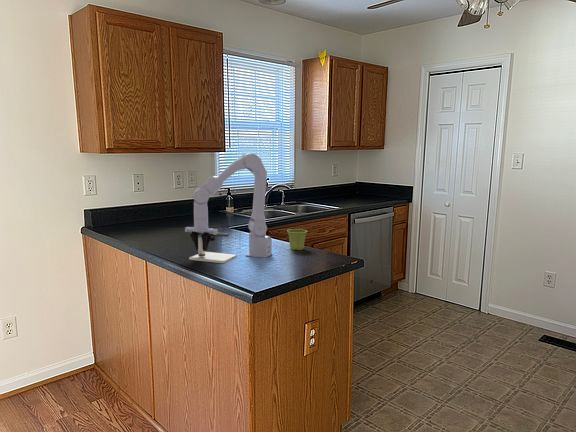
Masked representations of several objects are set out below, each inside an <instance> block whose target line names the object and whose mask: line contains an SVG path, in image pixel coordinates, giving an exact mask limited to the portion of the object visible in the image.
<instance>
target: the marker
mask: <svg viewBox="0 0 576 432" xmlns="http://www.w3.org/2000/svg"><path fill="white" fill-rule="evenodd" d="M205 252H206V251H203V241H202V237H201V235H198V250H197V253H198V256H200V257H203V256H205Z"/></svg>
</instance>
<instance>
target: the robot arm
mask: <svg viewBox="0 0 576 432" xmlns="http://www.w3.org/2000/svg"><path fill="white" fill-rule="evenodd" d="M242 170H243V171H244V170H248V171H249V172H251V174H252V175H253V176H254V183H253V185H254V186H253V196H252V197H253V199H252V210H251V211H252V212H251V215H250V219H249V221H248V224H247V229H248V230H249V231H250V232H249V234H248V242H249V243H248V253H247V254H245V256H246V257H253V258H254V257H255V258H263V259H266V258H268V257H270V256H271V255H273V253H272V247H273V245H272V244H273V242H272V237H271V235H270V236H269V235H267V234H266V233H267V231H268V226H267V224H266V216H265V206H266V193H267V192H266V191H267V179H268V178H267V177H268V172H267V171H268V170H267V169H266V167H265V166H264V163H263V161H262V159H261V157H260V156H258V155H257V154H255V153H248V152H247V153H243V154H242V155H241V156H240V157H238V158H236V159H235V160H234V161H233V162H231V163H230V164H229V165H228V166H227V167H226V168H225V169H223V170H222V172H221V173H220V174H219V175H218V176H217V175H213V176H209V177H208V178H207V181H206V182H204V183H203V184H202V185H199V186H198V187H199V188H197V189H195V190H194V191H193V194H192V196H191V197H192V200H193V226H186V227H184V232H185V233H190V235H189V236H190V238H191V239H192V242H193V243H194V247H195V250H196V251H198V235H201V234H202V233H204V234H202V235H201V237H202V241H203V251H205V252H207V251H208V246H209V243H210V242H211V240H210V239H211V237H212V234H214V235H216V234H218V232H219V229H218V228H212V227H211V228H210V227H209V209H208V208H209V207H208V202H209V199H210V197H212V196H213V195H214V194H216V193H217V192H218V191H219V190H220V189H221V188H223V183H224V182H225V181H227V180H228V179H229V178H230V177H231V176H233V175H234V174H235V173H236V172H237V171H242Z"/></svg>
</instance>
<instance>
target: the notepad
mask: <svg viewBox="0 0 576 432" xmlns="http://www.w3.org/2000/svg"><path fill="white" fill-rule="evenodd" d="M236 257H238V255H237V254H233V253H231V254H230V253H222V252H213V251H205V256H203V257H200V256H198V254H194V255H192V256H189V257H188V260H189V261H198V262H207V263H209V262H210V263H216V264H225V263H227V262H229V261H231V260H234V259H235V258H236Z"/></svg>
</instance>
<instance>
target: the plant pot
mask: <svg viewBox="0 0 576 432" xmlns="http://www.w3.org/2000/svg"><path fill="white" fill-rule="evenodd" d="M286 232H287V235H288V239H289V247H290V248H289V249H290V250H293V251H296V250H297V251H301V250H304V248H305V247H304V246H305V241H306V235H307V233H308V230H306V229H303V228H302V229H301V228H293V229H292V228H290V229H287V231H286Z"/></svg>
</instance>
